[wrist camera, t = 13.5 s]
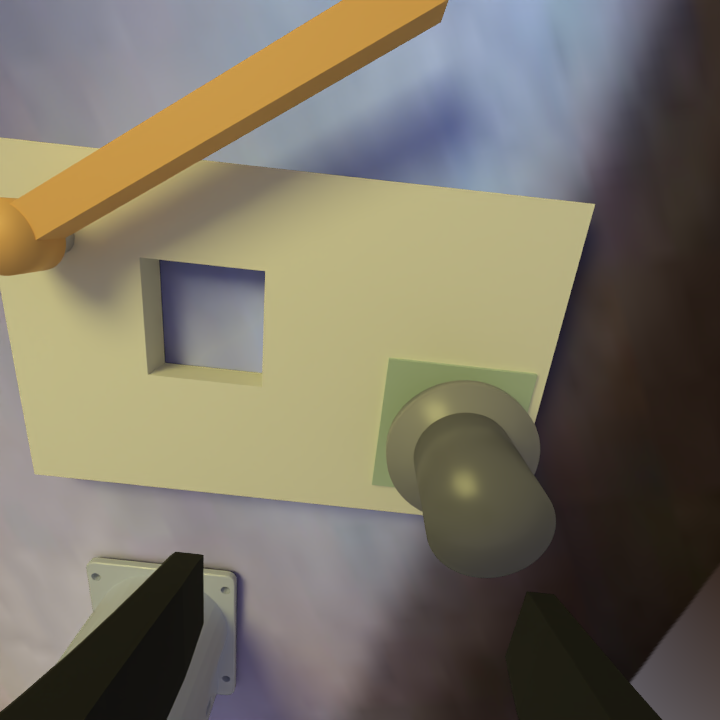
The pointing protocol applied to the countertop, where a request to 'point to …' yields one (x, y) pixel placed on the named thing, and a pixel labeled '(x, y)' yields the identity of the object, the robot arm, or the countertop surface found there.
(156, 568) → the robot arm
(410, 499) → the plug
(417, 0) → the tan wooden rod
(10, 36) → the countertop surface
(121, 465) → the board
